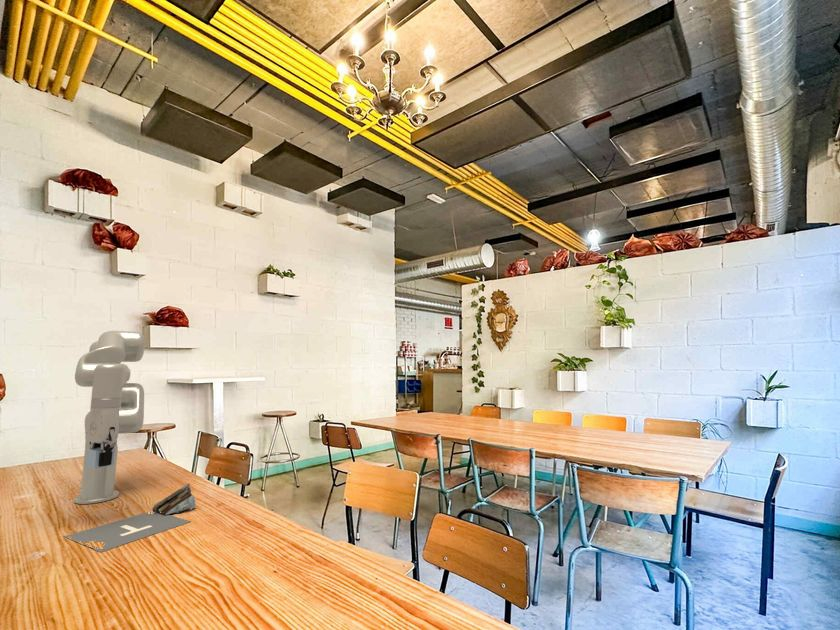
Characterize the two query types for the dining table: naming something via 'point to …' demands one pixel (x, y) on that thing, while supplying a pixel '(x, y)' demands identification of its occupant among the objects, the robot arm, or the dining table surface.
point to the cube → (96, 458)
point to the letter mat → (127, 530)
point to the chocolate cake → (176, 502)
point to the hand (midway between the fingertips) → (100, 463)
